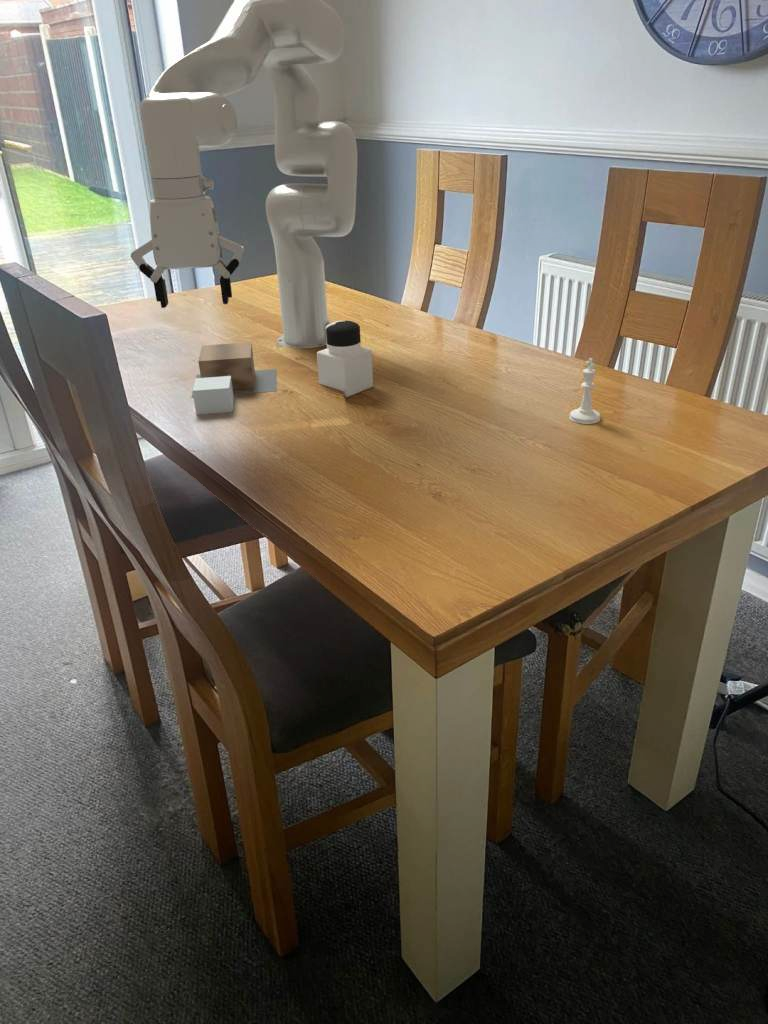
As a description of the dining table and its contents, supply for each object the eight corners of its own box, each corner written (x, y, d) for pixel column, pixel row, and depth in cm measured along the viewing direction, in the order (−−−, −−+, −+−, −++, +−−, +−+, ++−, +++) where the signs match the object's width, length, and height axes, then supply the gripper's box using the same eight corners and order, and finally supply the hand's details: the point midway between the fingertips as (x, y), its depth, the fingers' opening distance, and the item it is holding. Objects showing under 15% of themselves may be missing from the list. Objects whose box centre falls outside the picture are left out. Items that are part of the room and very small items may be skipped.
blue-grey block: (234, 405, 138) (230, 375, 135) (233, 418, 133) (229, 387, 130) (200, 408, 138) (195, 378, 135) (197, 421, 132) (192, 390, 130)
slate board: (276, 374, 151) (276, 368, 150) (277, 397, 140) (276, 391, 140) (197, 380, 149) (196, 374, 149) (192, 404, 139) (191, 397, 138)
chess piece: (582, 426, 125) (588, 366, 120) (562, 416, 129) (568, 357, 124) (606, 420, 127) (613, 360, 122) (586, 410, 131) (592, 351, 126)
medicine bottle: (374, 387, 143) (371, 322, 138) (346, 398, 139) (342, 331, 133) (346, 378, 148) (342, 315, 142) (318, 389, 143) (313, 324, 137)
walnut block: (255, 373, 149) (251, 342, 146) (254, 389, 141) (250, 357, 138) (206, 376, 148) (202, 345, 145) (203, 393, 140) (198, 361, 137)
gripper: (238, 183, 122) (250, 295, 130) (124, 188, 120) (144, 301, 129) (235, 189, 115) (249, 306, 123) (114, 195, 114) (136, 313, 122)
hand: (195, 304), depth 126 cm, fingers open, 9 cm apart
